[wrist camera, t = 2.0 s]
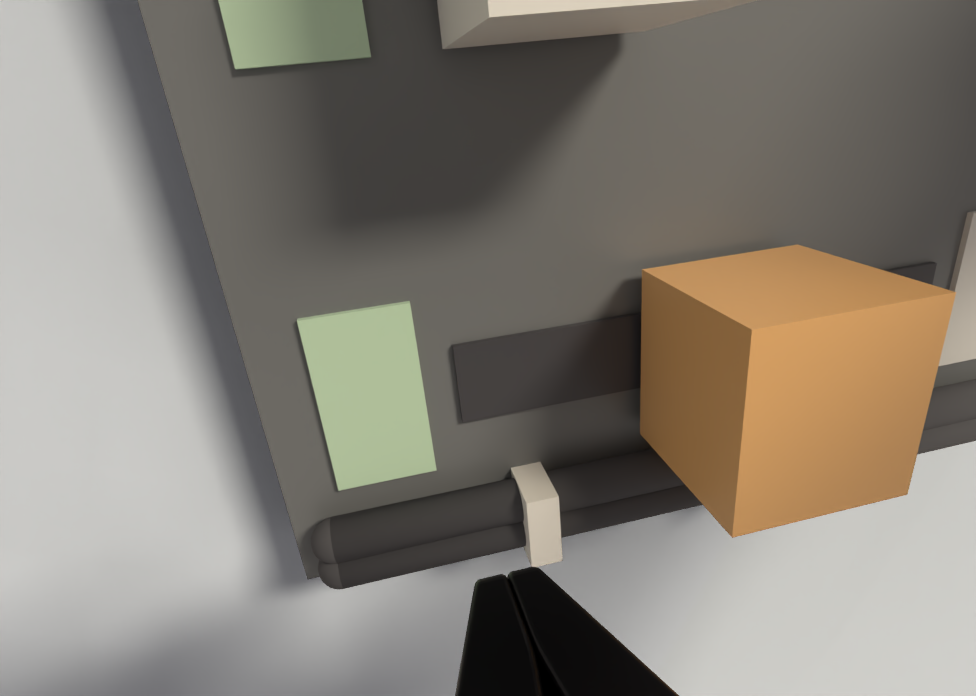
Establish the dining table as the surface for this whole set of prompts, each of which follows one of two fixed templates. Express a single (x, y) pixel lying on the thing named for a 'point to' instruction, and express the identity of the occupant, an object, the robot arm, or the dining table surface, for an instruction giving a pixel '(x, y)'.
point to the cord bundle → (545, 507)
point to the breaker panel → (537, 210)
